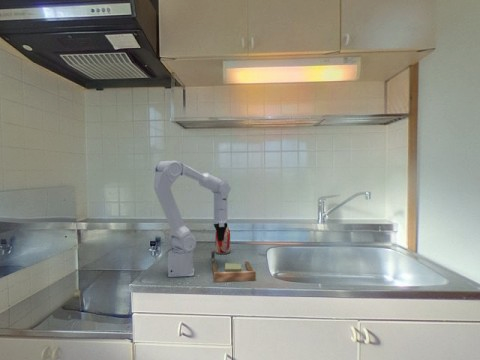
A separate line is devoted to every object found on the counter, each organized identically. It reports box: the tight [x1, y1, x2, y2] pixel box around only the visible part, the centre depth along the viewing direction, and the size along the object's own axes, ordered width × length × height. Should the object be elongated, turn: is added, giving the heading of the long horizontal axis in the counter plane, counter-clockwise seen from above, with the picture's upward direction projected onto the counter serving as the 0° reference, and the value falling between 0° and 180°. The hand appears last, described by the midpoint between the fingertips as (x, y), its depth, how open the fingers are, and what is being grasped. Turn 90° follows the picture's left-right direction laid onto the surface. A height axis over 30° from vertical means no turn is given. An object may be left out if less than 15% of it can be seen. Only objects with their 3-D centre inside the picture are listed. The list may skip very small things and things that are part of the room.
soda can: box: [214, 226, 231, 255], centre depth 149 cm, size 7×7×12 cm
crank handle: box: [210, 250, 216, 264], centre depth 137 cm, size 8×1×3 cm, turn 7°
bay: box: [212, 261, 257, 283], centre depth 121 cm, size 15×18×3 cm
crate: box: [224, 262, 243, 272], centre depth 118 cm, size 6×7×4 cm
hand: (220, 240), depth 132 cm, fingers closed
